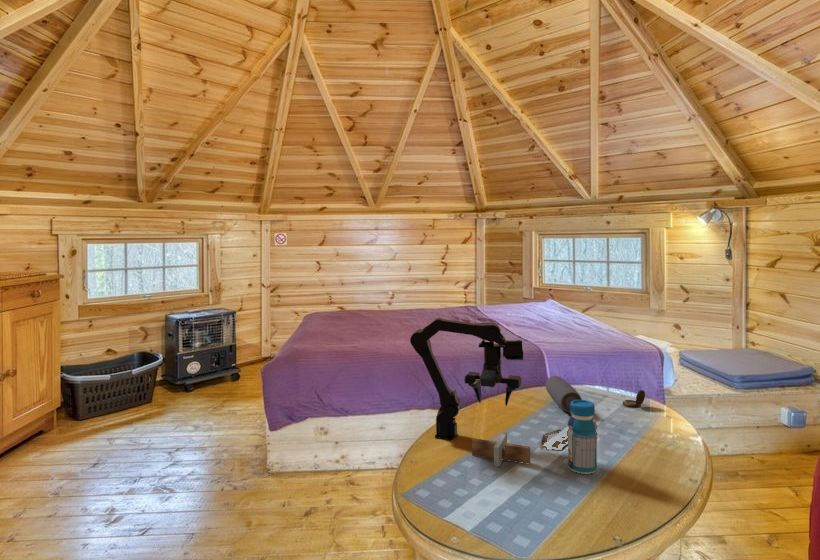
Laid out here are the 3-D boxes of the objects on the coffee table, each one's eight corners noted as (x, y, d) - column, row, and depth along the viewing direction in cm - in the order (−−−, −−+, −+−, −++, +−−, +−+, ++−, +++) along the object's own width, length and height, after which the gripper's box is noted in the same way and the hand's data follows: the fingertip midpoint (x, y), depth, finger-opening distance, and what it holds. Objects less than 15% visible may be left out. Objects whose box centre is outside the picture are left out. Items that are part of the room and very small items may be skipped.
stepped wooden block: (472, 455, 153) (472, 440, 153) (473, 453, 155) (473, 438, 154) (529, 464, 146) (529, 448, 146) (530, 462, 147) (530, 446, 147)
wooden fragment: (555, 455, 152) (555, 452, 152) (526, 445, 160) (526, 442, 160) (594, 432, 169) (595, 429, 169) (566, 424, 178) (566, 421, 178)
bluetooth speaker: (584, 415, 185) (584, 390, 184) (559, 416, 185) (559, 391, 184) (565, 396, 208) (565, 374, 207) (544, 397, 208) (544, 374, 207)
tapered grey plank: (494, 466, 146) (493, 446, 145) (502, 450, 157) (502, 432, 156) (498, 466, 145) (498, 447, 145) (507, 450, 156) (507, 432, 155)
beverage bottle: (583, 477, 137) (583, 409, 135) (561, 466, 144) (561, 401, 143) (603, 470, 141) (604, 404, 139) (581, 459, 148) (581, 396, 147)
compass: (626, 401, 200) (626, 384, 199) (645, 406, 193) (646, 388, 193) (617, 406, 195) (617, 388, 194) (636, 411, 188) (636, 393, 188)
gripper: (459, 363, 161) (460, 408, 162) (515, 367, 153) (515, 415, 154) (468, 355, 171) (469, 398, 172) (521, 359, 163) (521, 404, 165)
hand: (493, 404), depth 165 cm, fingers open, 9 cm apart
